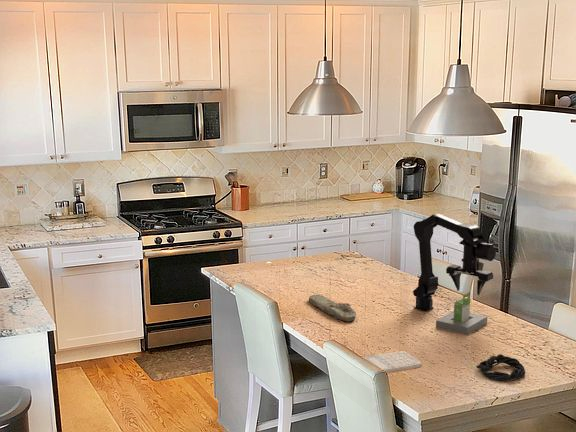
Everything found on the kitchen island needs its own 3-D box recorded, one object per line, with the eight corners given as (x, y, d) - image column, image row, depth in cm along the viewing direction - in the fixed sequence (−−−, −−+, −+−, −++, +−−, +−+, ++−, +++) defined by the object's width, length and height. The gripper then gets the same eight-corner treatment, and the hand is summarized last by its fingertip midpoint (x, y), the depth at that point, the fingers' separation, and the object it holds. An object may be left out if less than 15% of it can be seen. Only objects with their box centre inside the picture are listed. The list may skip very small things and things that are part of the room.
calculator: (423, 367, 263) (423, 362, 263) (373, 375, 256) (373, 370, 256) (404, 354, 275) (404, 349, 275) (355, 362, 268) (356, 357, 268)
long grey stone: (322, 301, 342) (303, 305, 337) (321, 290, 341) (302, 294, 337) (362, 320, 311) (342, 324, 306) (362, 307, 310) (341, 312, 306)
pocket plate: (435, 327, 303) (436, 320, 303) (456, 316, 317) (456, 309, 316) (467, 335, 294) (467, 327, 294) (486, 323, 308) (487, 316, 307)
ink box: (460, 320, 309) (462, 290, 307) (469, 322, 307) (471, 291, 304) (452, 325, 304) (454, 293, 301) (461, 327, 301) (463, 295, 299)
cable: (506, 362, 268) (507, 350, 267) (537, 375, 256) (537, 363, 255) (471, 371, 260) (472, 359, 259) (501, 385, 248) (501, 373, 247)
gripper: (500, 256, 304) (498, 292, 307) (459, 249, 316) (457, 284, 319) (488, 261, 295) (485, 298, 298) (446, 253, 307) (444, 289, 310)
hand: (468, 292), depth 307 cm, fingers open, 9 cm apart
